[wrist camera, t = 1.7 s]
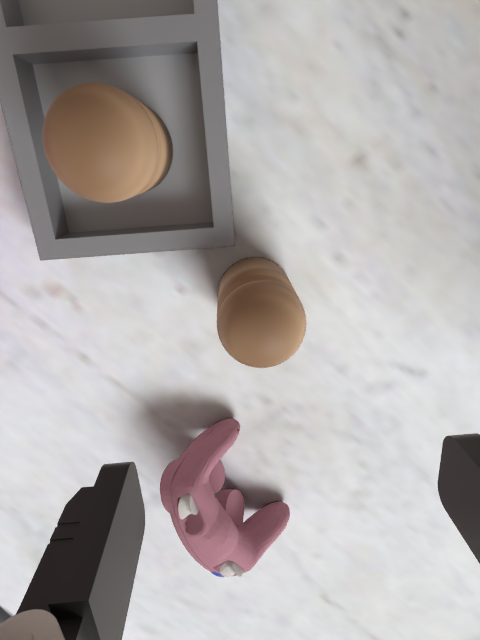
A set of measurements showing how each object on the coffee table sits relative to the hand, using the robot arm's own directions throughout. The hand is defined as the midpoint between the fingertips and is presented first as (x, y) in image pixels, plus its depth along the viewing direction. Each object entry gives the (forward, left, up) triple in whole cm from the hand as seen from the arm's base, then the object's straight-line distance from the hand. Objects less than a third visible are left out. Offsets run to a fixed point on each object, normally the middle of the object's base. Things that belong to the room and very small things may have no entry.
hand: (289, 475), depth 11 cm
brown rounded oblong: (0, 0, -15) cm, 15 cm away
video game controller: (+3, +14, -16) cm, 21 cm away
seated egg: (+6, -9, -15) cm, 18 cm away
